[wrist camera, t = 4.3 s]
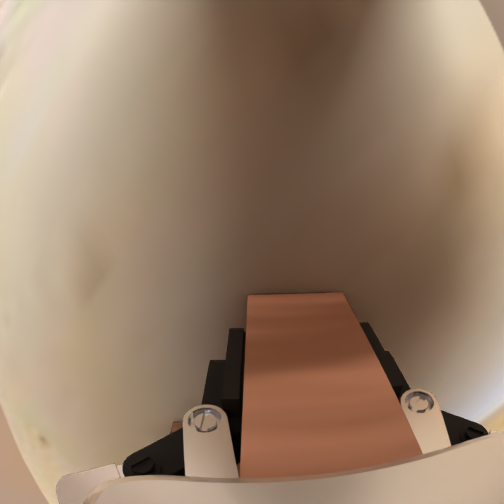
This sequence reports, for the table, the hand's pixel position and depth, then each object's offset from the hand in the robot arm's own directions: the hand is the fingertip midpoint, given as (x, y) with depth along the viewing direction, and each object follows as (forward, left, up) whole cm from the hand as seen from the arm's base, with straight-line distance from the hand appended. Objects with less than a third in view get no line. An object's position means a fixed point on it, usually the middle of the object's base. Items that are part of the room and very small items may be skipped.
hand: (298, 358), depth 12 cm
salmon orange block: (0, 0, -2) cm, 2 cm away
